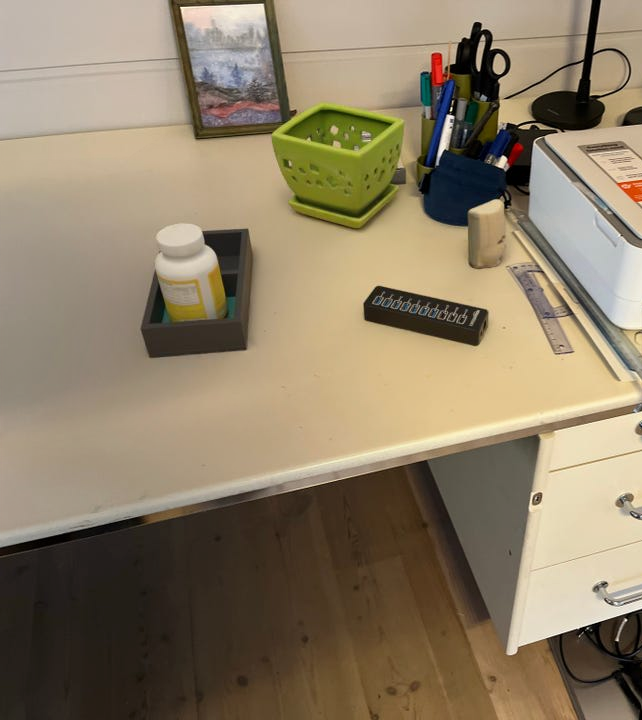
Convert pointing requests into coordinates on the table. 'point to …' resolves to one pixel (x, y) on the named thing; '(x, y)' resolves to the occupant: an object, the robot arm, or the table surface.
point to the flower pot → (339, 162)
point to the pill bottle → (189, 275)
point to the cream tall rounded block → (486, 234)
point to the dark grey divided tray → (213, 332)
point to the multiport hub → (426, 315)
